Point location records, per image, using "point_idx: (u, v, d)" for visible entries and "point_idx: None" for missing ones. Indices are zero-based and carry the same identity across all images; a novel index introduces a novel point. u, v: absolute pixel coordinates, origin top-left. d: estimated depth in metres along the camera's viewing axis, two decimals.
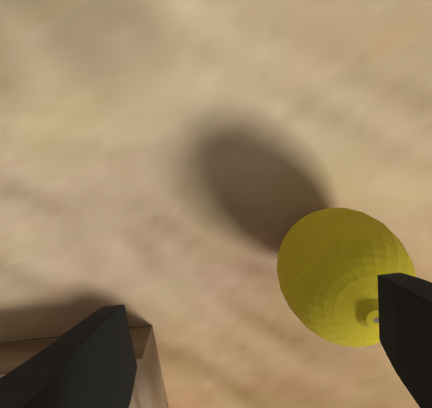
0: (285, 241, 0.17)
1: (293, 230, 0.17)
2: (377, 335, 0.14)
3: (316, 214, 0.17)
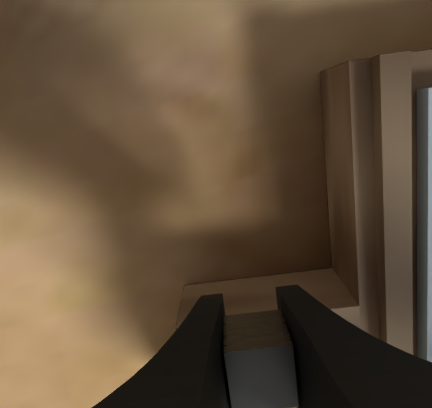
0: None
1: None
2: None
3: None
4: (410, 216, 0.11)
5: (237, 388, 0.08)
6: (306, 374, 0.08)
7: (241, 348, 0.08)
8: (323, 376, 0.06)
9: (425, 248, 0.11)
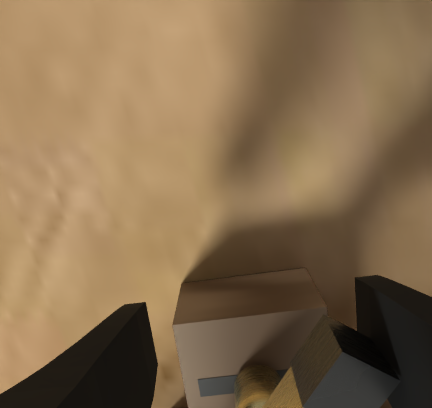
0: None
1: None
2: None
3: None
4: None
5: (326, 388, 0.08)
6: (413, 362, 0.08)
7: (354, 356, 0.08)
8: None
9: None
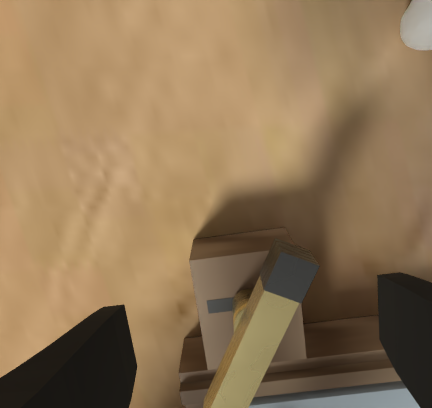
0: None
1: None
2: None
3: None
4: (373, 383, 0.18)
5: (275, 276, 0.13)
6: None
7: (290, 254, 0.13)
8: None
9: (351, 392, 0.18)
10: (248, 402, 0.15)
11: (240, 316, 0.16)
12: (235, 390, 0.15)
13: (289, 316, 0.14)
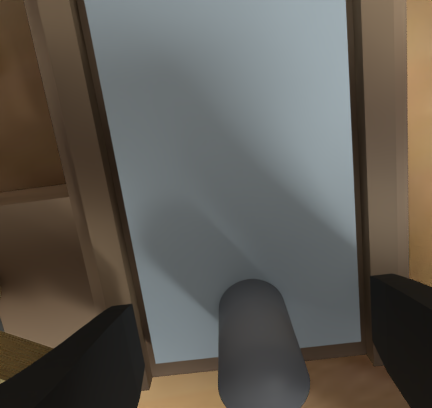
0: None
1: None
2: None
3: None
4: (83, 83, 0.10)
5: None
6: None
7: None
8: None
9: None
10: None
11: None
12: None
13: None
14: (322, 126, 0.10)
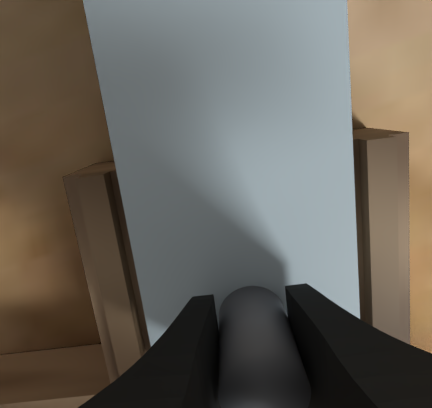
0: None
1: None
2: None
3: None
4: (130, 319, 0.11)
5: None
6: (319, 373, 0.08)
7: None
8: (339, 374, 0.06)
9: (109, 129, 0.10)
10: None
11: None
12: None
13: None
14: (323, 133, 0.10)
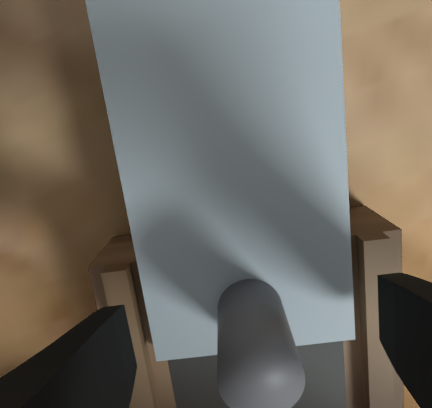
0: None
1: None
2: None
3: None
4: (149, 393, 0.12)
5: None
6: None
7: None
8: None
9: None
10: None
11: None
12: None
13: None
14: (317, 131, 0.10)
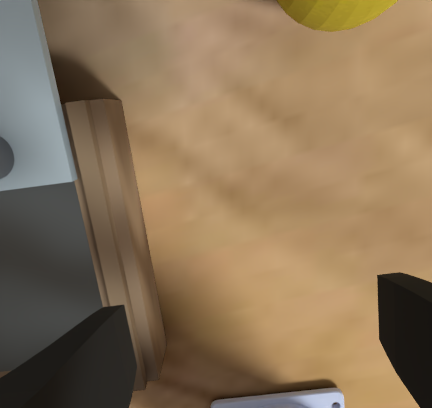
0: None
1: None
2: None
3: None
4: None
5: None
6: None
7: None
8: None
9: None
10: None
11: None
12: None
13: None
14: (14, 16, 0.14)
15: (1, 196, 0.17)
